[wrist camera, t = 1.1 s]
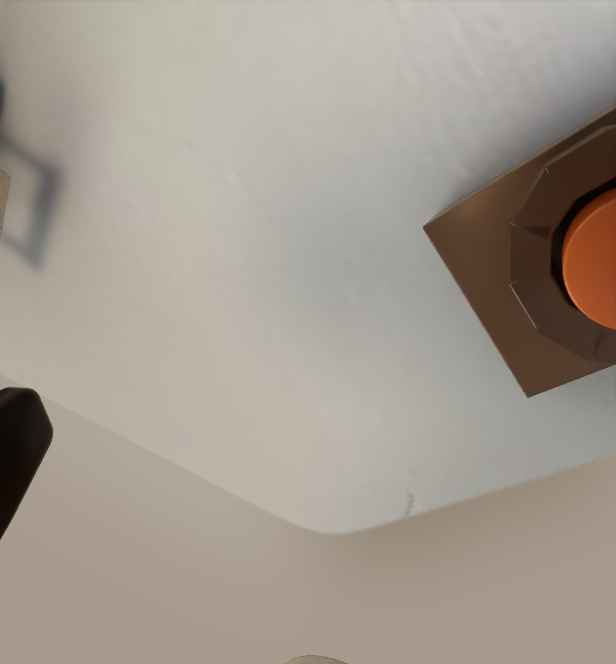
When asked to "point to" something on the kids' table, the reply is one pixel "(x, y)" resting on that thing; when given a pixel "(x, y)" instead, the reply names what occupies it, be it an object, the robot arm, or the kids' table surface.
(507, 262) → the block
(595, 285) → the button
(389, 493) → the kids' table surface
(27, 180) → the kids' table surface
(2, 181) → the drawer
